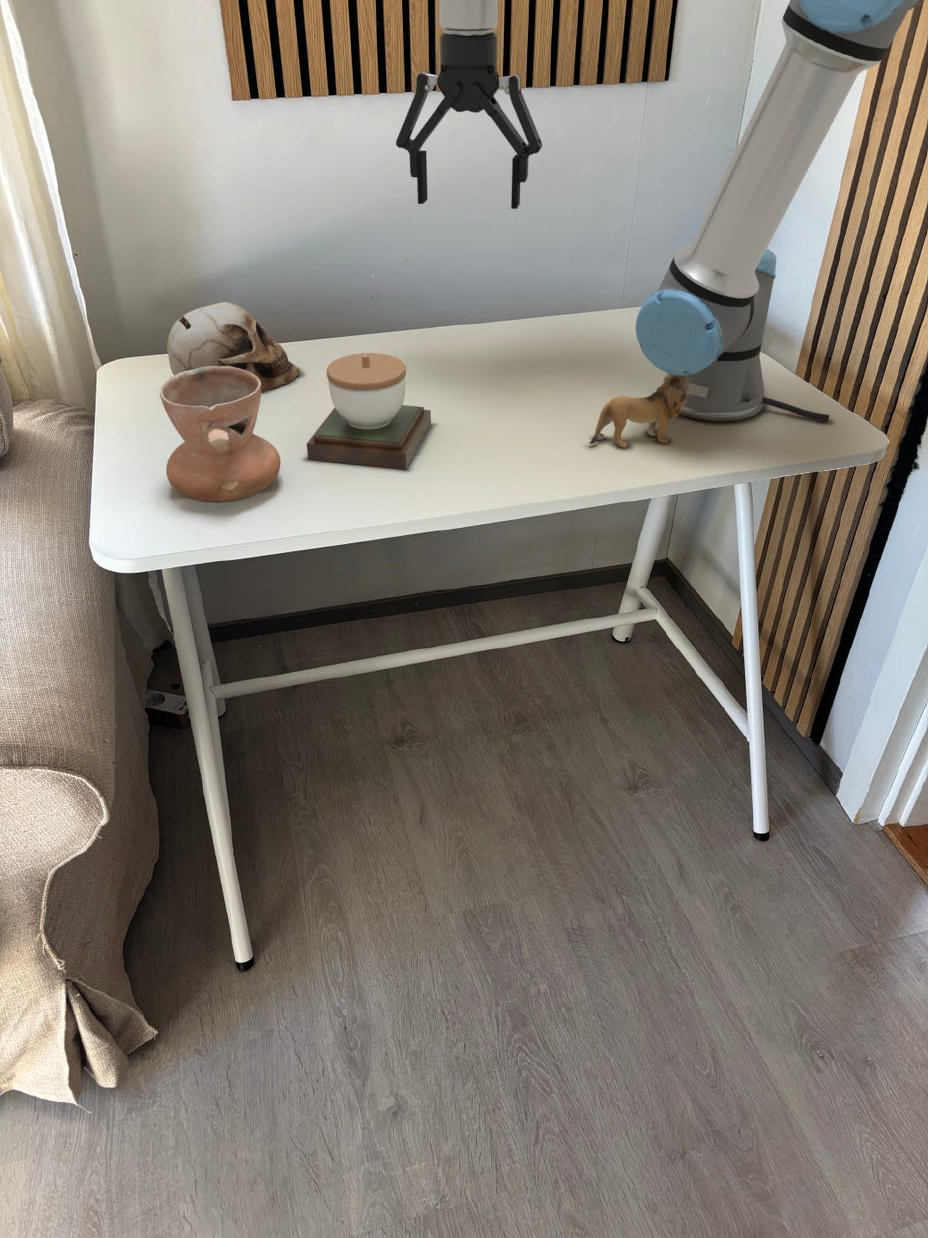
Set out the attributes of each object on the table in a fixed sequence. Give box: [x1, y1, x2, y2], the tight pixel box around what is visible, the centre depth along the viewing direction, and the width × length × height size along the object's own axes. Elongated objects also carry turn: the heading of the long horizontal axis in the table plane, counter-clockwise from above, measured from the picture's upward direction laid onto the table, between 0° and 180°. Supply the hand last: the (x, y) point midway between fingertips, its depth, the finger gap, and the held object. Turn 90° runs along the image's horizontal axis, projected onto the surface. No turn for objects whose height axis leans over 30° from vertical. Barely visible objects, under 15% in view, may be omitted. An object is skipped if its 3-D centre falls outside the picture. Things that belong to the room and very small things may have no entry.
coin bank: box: [166, 301, 301, 392], centre depth 150 cm, size 16×17×13 cm
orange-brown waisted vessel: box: [159, 366, 282, 504], centre depth 123 cm, size 18×14×14 cm
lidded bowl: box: [326, 352, 407, 430], centre depth 132 cm, size 11×11×9 cm
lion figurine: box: [588, 374, 690, 448], centre depth 134 cm, size 15×5×9 cm, turn 110°
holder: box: [306, 404, 432, 470], centre depth 136 cm, size 14×14×3 cm
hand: (468, 204), depth 138 cm, fingers open, 13 cm apart
